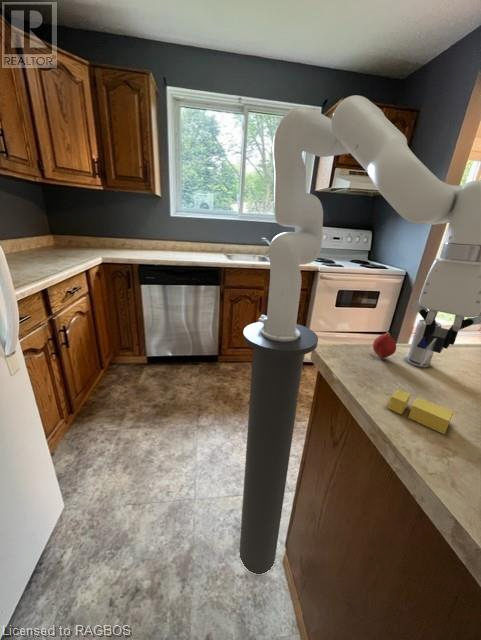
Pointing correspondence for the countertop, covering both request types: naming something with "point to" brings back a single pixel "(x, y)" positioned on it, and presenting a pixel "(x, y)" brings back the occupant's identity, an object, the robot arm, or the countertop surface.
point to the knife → (434, 343)
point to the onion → (384, 345)
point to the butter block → (430, 415)
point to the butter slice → (399, 401)
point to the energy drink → (419, 345)
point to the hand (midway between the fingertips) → (437, 343)
